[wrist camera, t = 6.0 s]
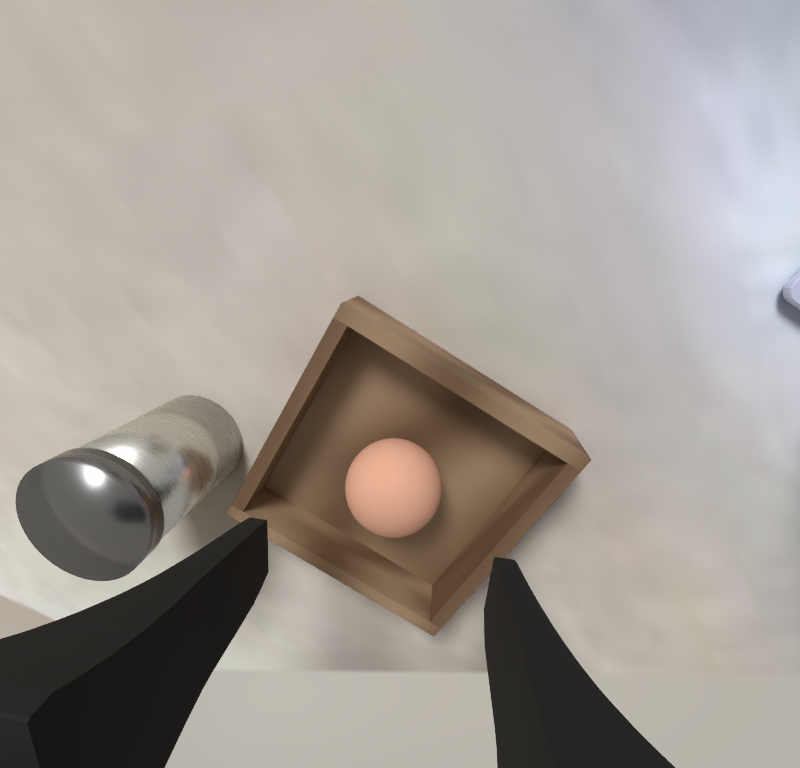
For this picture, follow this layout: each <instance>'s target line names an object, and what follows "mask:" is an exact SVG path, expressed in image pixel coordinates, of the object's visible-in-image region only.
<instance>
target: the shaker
mask: <svg viewBox="0 0 800 768" xmlns="http://www.w3.org/2000/svg"><path fill="white" fill-rule="evenodd" d="M241 454H242V438H241V434H240V431H239V429H238V426H237V424H236V423H235V421H234V419H233V418H232V417H231V415H230V414H229V413H228V412H227V411H226V410H225V409H224V408H222V407H221V406H220V405H218V404H217V403H215V402H213V401H211V400H209V399H207V398H204V397H200V396H193V395H187V396H181V397H178V398H175V399H173V400H171V401H169V402H167V403H165V404H163V405H161V406H159V407H157V408H155V409H153V410H151V411H150V412H148V413H146V414H144V415H142V416H140V417H138V418H136V419H134V420H132V421H130V422H128V423H126V424H124V425H122V426H120V427H118V428H116V429H114V430H112V431H111V432H109V433H107V434H105V435H103V436H101V437H99V438H97V439H95V440H93V441H91V442H89V443H87V444H85V445H83V446H81V447H79V448H76V449H72V450H68V451H66V452H63V453H61V454H59V455H57V456H55V457H53V458H51V459H49V460H47V461H45V462H44V463H42V464H40V465H38V466H36V467H34V468H32V469H31V470H30V471H28V472H27V473H26V474H25V475H24V477H23V478H22V480H21V481H20V483H19V486H18V488H17V493H16V510H17V514H18V518H19V521H20V524H21V526H22V528H23V530H24V532H25V534H26V535H27V537H28V539H29V540H30V541H31V543H32V544H33V545H34V547H35V548H36V549H37V550H38V551H39V552H40V553H41V554H42V555H43V556H44V557H45V558H46V559H48V560H49V561H50V562H51V563H53V564H54V565H56V566H57V567H59V568H60V569H62V570H64V571H66V572H68V573H70V574H72V575H75V576H77V577H81V578H84V579H88V580H94V581H109V580H115V579H118V578H121V577H123V576H125V575H127V574H129V573H130V572H131V571H133V570H134V569H135V568H136V567H137V566H138V565H139V564H140V563H141V562H142V561H143V560H144V559H145V558H146V557H147V556H148V555H149V554H150V553H151V552H152V551H153V550H154V549H155V548H156V547H157V545H158V544H159V542H160V540H161V539H162V538H163V537H164V536H165V535H166V534H167V533H168V532H169V531H170V530H171V529H172V528H173V527H174V526H175V525H176V524H177V523H178V522H179V521H180V520H181V519H182V518H183V517H185V516H186V515H187V514H188V513H189V512H190V511H191V510H192V509H193V508H194V507H195V506H196V505H197V504H198V503H199V502H200V501H201V500H202V499H203V498H204V497H205V496H206V495H207V494H208V493H209V492H210V491H211V490H212V489H214V488H215V487H216V486H217V485H218V484H219V483H220V482H221V481H222V480H223V479H224V478H225V477H226V476H227V475H228V474H229V473H230V472H231V471H232V470H233V469H234V468H235V467H236V465H237V464H238V462H239V460H240V458H241Z"/></svg>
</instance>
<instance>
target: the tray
mask: <svg viewBox="0 0 800 768" xmlns="http://www.w3.org/2000/svg"><path fill="white" fill-rule="evenodd" d="M388 438H399V439H404V440H408V441H411V442H413V443H415V444H417V445H419V446H420V447H422V448H423V449H424V450H426V452H427V453H428V454H429V455H430V456H431V457H432V459H433V460H434V461H435V463H436V465H437V467H438V470H439V473H440V477H441V484H442V493H441V499H440V503H439V505H438V508H437V510H436V512H435V514H434V516H433V517H432V518H431V520H430V521H429V522H428V523H427V524H426V525H425V526H424V527H423V528H421V529H420V530H418V531H417V532H415V533H413V534H410V535H407V536H404V537H398V538H389V537H383V536H379V535H376V534H374V533H372V532H370V531H368V530H367V529H365V528H364V527H363V526H362V525H361V524H360V523H359V522H358V521H357V520H356V519H355V518H354V516H353V514H352V513H351V511H350V508H349V506H348V503H347V500H346V494H345V482H346V477H347V473H348V470H349V468H350V465H351V463H352V462H353V460H354V459H355V457H356V456H357V455H358V454H359V453H360V452H361V451H362V450H363V449H364V448H365V447H367V446H368V445H370V444H372V443H374V442H376V441H379V440H382V439H388ZM590 461H591V459H590V457H589V456H588V454H587V453H586V451H585V450H584V448H583V447H582V445H581V444H580V442H579V440H578V439H577V437H576V436H575V434H574V433H573V431H572V430H571V429H569V428H567V427H566V426H564V425H563V424H561V423H560V422H558V421H556V420H555V419H553V418H552V417H550V416H548V415H547V414H545V413H544V412H542V411H540V410H539V409H537V408H536V407H534V406H533V405H531V404H529V403H528V402H526V401H525V400H523V399H521V398H520V397H518V396H517V395H515V394H513V393H512V392H510V391H509V390H507V389H506V388H504V387H502V386H501V385H499V384H498V383H496V382H494V381H493V380H491V379H490V378H488V377H486V376H485V375H483V374H482V373H480V372H479V371H477V370H475V369H474V368H472V367H471V366H469V365H467V364H466V363H464V362H463V361H461V360H459V359H458V358H456V357H455V356H453V355H451V354H450V353H448V352H447V351H445V350H444V349H442V348H440V347H439V346H437V345H436V344H434V343H432V342H431V341H429V340H428V339H426V338H424V337H423V336H421V335H420V334H418V333H417V332H415V331H413V330H412V329H410V328H409V327H407V326H405V325H404V324H402V323H401V322H399V321H397V320H396V319H394V318H393V317H391V316H390V315H388V314H386V313H385V312H383V311H382V310H380V309H378V308H377V307H375V306H374V305H372V304H370V303H369V302H367V301H366V300H364V299H362V298H361V297H359V296H357V297H355V298H352V299H350V300H348V301H345V302H343V303H341V304H340V306H339V308H338V310H337V312H336V314H335V315H334V317H333V319H332V321H331V323H330V325H329V326H328V328H327V330H326V332H325V334H324V336H323V337H322V339H321V341H320V343H319V345H318V347H317V348H316V350H315V352H314V354H313V356H312V358H311V359H310V361H309V363H308V365H307V367H306V369H305V370H304V372H303V374H302V376H301V378H300V380H299V382H298V383H297V385H296V387H295V389H294V391H293V393H292V394H291V396H290V398H289V400H288V402H287V404H286V405H285V407H284V409H283V411H282V413H281V415H280V416H279V418H278V420H277V422H276V424H275V426H274V427H273V429H272V431H271V433H270V435H269V437H268V438H267V440H266V442H265V444H264V446H263V448H262V449H261V451H260V453H259V455H258V457H257V459H256V460H255V462H254V464H253V466H252V468H251V470H250V471H249V473H248V475H247V477H246V479H245V481H244V482H243V484H242V486H241V488H240V490H239V492H238V493H237V495H236V497H235V499H234V501H233V503H232V504H231V506H230V508H229V510H228V512H227V514H226V515H228V516H230V517H231V518H233V519H235V520H236V521H238V522H240V523H241V522H243V521H244V520H246V519H247V518H249V517H251V518H257V519H264V520H267V528H268V539H269V540H270V541H272V542H274V543H276V544H277V545H279V546H281V547H282V548H284V549H286V550H287V551H289V552H291V553H293V554H294V555H296V556H298V557H299V558H301V559H303V560H304V561H306V562H308V563H310V564H311V565H313V566H315V567H316V568H318V569H320V570H321V571H323V572H325V573H327V574H328V575H330V576H332V577H333V578H335V579H337V580H339V581H340V582H342V583H344V584H345V585H347V586H349V587H350V588H352V589H354V590H356V591H357V592H359V593H361V594H362V595H364V596H366V597H367V598H369V599H371V600H373V601H374V602H376V603H378V604H379V605H381V606H383V607H384V608H386V609H388V610H390V611H391V612H393V613H395V614H396V615H398V616H400V617H402V618H403V619H405V620H407V621H408V622H410V623H412V624H413V625H415V626H417V627H419V628H420V629H422V630H424V631H425V632H427V633H429V634H430V635H432V636H435V634H436V633H437V632H438V631H439V630H440V629H441V628H442V627H443V625H444V624H445V623H446V622H447V621H448V620H449V619H450V618H451V617H452V615H453V614H454V613H455V612H456V611H457V610H458V609H459V608H460V606H461V605H462V604H463V603H464V602H465V601H466V600H467V599H468V597H469V596H470V595H471V594H472V593H473V592H474V591H475V590H476V589H477V587H478V586H479V585H480V584H481V583H482V582H483V581H484V580H485V578H486V577H487V576H488V575H489V574H490V573H491V571H492V565H493V560H494V557H499V558H504V557H505V556H506V555H507V554H508V553H509V552H510V550H511V549H512V548H513V547H514V546H515V545H516V544H517V543H518V541H519V540H520V539H521V538H522V537H523V536H524V535H525V534H526V533H527V531H528V530H529V529H530V528H531V527H532V526H533V525H534V524H535V522H536V521H537V520H538V519H539V518H540V517H541V516H542V515H543V513H544V512H545V511H546V510H547V509H548V508H549V507H550V506H551V505H552V503H553V502H554V501H555V500H556V499H557V498H558V497H559V496H560V494H561V493H562V492H563V491H564V490H565V489H566V488H567V487H568V485H569V484H570V483H571V482H572V481H573V480H574V479H575V478H576V477H577V475H578V474H579V473H580V472H581V471H582V470H583V469H584V468H585V466H586V465H587V464H588V463H589V462H590Z"/></svg>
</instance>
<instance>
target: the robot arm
mask: <svg viewBox="0 0 800 768" xmlns="http://www.w3.org/2000/svg"><path fill="white" fill-rule="evenodd" d="M783 297H784V298H785V299H786V301H788V302H789V303H791V304H792V305H794V306H795V307H797V308H798V309H799V310H800V269H799V270H798V271H797V272H796V273H795V274H794V275H793V276H792V277H791V279H790V280H789V281H788V282H787V283H786V285H785V286H784V288H783ZM267 574H268V528H267V520H264V519H257V518H251V517H249V518H247V519H246V520H244V521H243V522H241V523H239V524H238V525H236V526H235V527H233V528H232V529H230V530H229V531H227V532H226V533H225V534H223V535H222V536H220V537H219V538H217V539H215V540H214V541H212V542H211V543H209V544H208V545H206V546H205V547H203V548H202V549H200V550H199V551H197V552H195V553H194V554H192V555H191V556H189V557H187V558H186V559H184V560H182V561H181V562H179V563H177V564H175V565H174V566H172V567H170V568H169V569H167V570H165V571H164V572H162V573H160V574H158V575H157V576H155V577H153V578H151V579H149V580H147V581H145V582H144V583H142V584H140V585H138V586H136V587H134V588H131V589H129V590H127V591H125V592H123V593H121V594H119V595H117V596H115V597H112V598H110V599H108V600H106V601H103V602H101V603H99V604H96V605H94V606H92V607H89V608H87V609H85V610H82V611H80V612H78V613H75V614H72V615H70V616H67V617H65V618H62V619H59V620H57V621H54V622H51V623H48V624H45V625H43V626H40V627H37V628H35V629H31V630H28V631H25V632H22V633H19V634H16V635H13V636H9V637H6V638H2V639H0V768H165V765H166V763H167V761H168V759H169V757H170V755H171V753H172V750H173V749H174V747H175V744H176V742H177V740H178V738H179V736H180V734H181V732H182V730H183V728H184V725H185V723H186V721H187V719H188V717H189V715H190V713H191V711H192V709H193V707H194V705H195V703H196V701H197V699H198V697H199V695H200V693H201V691H202V689H203V687H204V686H205V684H206V682H207V680H208V679H209V677H210V675H211V673H212V672H213V670H214V668H215V667H216V665H217V663H218V662H219V660H220V658H221V657H222V655H223V654H224V652H225V650H226V649H227V647H228V645H229V644H230V642H231V640H232V639H233V637H234V636H235V634H236V632H237V631H238V629H239V627H240V626H241V624H242V622H243V621H244V619H245V617H246V616H247V614H248V612H249V611H250V609H251V607H252V606H253V604H254V602H255V600H256V598H257V596H258V594H259V592H260V589H261V587H262V585H263V583H264V580H265V578H266V576H267ZM484 634H485V651H486V660H487V668H488V676H489V684H490V692H491V700H492V708H493V717H494V724H495V734H496V745H497V762H498V768H675V767H674V766H673V765H672V764H671V763H670V762H669V761H668V760H667V759H666V758H665V757H663V756H662V755H661V754H660V753H659V752H658V751H657V750H656V749H655V748H654V747H653V746H652V745H651V744H650V743H649V742H648V741H647V740H646V739H645V738H644V737H643V736H642V735H641V734H640V733H639V732H638V731H637V730H636V729H635V728H634V727H633V726H632V725H631V723H630V722H629V721H628V720H627V719H626V718H625V717H624V716H623V715H622V714H621V713H620V712H619V710H618V709H617V708H616V707H615V706H614V705H613V704H612V703H611V702H610V701H609V700H608V698H607V697H606V696H605V695H604V694H603V693H602V691H601V690H600V689H599V688H598V687H597V685H596V684H595V683H594V682H593V681H592V679H591V678H590V677H589V675H588V674H587V673H586V672H585V670H584V669H583V668H582V667H581V665H580V664H579V663H578V661H577V660H576V659H575V657H574V656H573V654H572V653H571V652H570V650H569V649H568V647H567V646H566V645H565V643H564V642H563V640H562V639H561V637H560V636H559V634H558V633H557V631H556V630H555V628H554V627H553V625H552V624H551V622H550V620H549V619H548V617H547V616H546V614H545V612H544V611H543V609H542V608H541V606H540V604H539V603H538V601H537V599H536V597H535V596H534V594H533V592H532V590H531V589H530V587H529V585H528V583H527V581H526V579H525V577H524V576H523V574H522V572H521V570H520V568H519V566H518V564H517V563H516V561H515V560H511V559H505V558H499V557H494V560H493V565H492V571H491V576H490V581H489V586H488V592H487V597H486V602H485V608H484Z"/></svg>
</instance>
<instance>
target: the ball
mask: <svg viewBox="0 0 800 768" xmlns="http://www.w3.org/2000/svg"><path fill="white" fill-rule="evenodd" d="M441 493H442V484H441V477H440V473H439V470H438V467H437V465H436V463H435V461H434V460H433V459H432V457H431V456H430V455H429V454H428V453H427V452H426V450H424V449H423V448H422V447H420V446H419V445H417V444H415V443H413V442H411V441H408V440H404V439H399V438H388V439H382V440H379V441H376V442H374V443H372V444H370V445H368V446H367V447H365V448H364V449H363V450H362V451H361V452H360V453H359V454H358V455H357V456H356V457H355V459H354V460H353V462H352V463H351V465H350V468H349V470H348V473H347V477H346V482H345V494H346V500H347V503H348V506H349V508H350V511H351V513H352V514H353V516H354V518H355V519H356V520H357V521H358V522H359V523H360V524H361V525H362V526H363V527H364V528H365V529H367V530H368V531H370V532H372V533H374V534H376V535H379V536H383V537H389V538H398V537H404V536H407V535H410V534H413V533H415V532H417V531H418V530H420V529H421V528H423V527H424V526H425V525H426V524H427V523H428V522H429V521H430V520H431V518H432V517H433V516H434V514H435V512H436V510H437V508H438V505H439V503H440V499H441Z"/></svg>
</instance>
